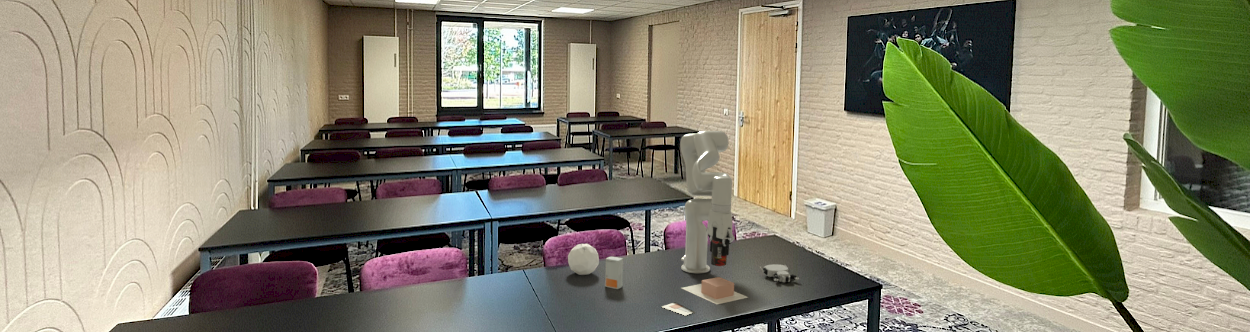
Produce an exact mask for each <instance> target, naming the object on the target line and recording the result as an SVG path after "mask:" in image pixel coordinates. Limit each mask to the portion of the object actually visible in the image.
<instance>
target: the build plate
mask: <svg viewBox="0 0 1250 332" xmlns="http://www.w3.org/2000/svg"><path fill="white" fill-rule="evenodd" d="M701 284H702V283H698V284H693V285H689V286H685V287H684V286H683V287H681V289H682V290H684V291H686V292H689V293H690V294H693V295H695V296H697V297H700V298H702V299H704V300H706V301H708V302H710V303H713V304H715V305H721V304H727V303H730V302H735V301H738V300H744V299H747V298H748V299H749V297H748V296H747V295H745V294H741V293H740V292H737V291H735V290H734V295H733V296H729V297H724V298H720V299H714V298H712V297H710V296H708V295H705V294H703V293H701Z"/></svg>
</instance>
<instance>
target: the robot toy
mask: <svg viewBox="0 0 1250 332" xmlns="http://www.w3.org/2000/svg"><path fill="white" fill-rule="evenodd" d="M759 268H760V270H761V271H762V273H763V274H765V276H767V277H768V278H773V281H774V282H779V283H789V282H790V281H791V280H792V281H799V280H800V277H798V276H797V275H796V274H792V273H791V274H790V268H789V267H788V266H787V265H786V264H784V265H783V264H768V265H767V264H766V265H765V266H763V268H762V266H759Z"/></svg>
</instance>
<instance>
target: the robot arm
mask: <svg viewBox="0 0 1250 332" xmlns="http://www.w3.org/2000/svg"><path fill="white" fill-rule="evenodd" d="M729 142H730V141H729V136H728V135H727V133H726V132H725V131H722V130H702V131H699V132H697V133H693V132H692V133H687V134H684V135H683V136H681V139H680V143H679V145H680V153H681V156H682V158H683V161H684V164H685V177H686V189H687V193H688V194H689V195H690V196H693V197H694V196H695V197H711V198H692V199H689V200H687V201H686V202H685V204H684V216H685V252H684V256H683V257H681V259H680V260H681V261H682V262H683V264H682V265H681V267H680V268H681V270H682V271H683V272H685V273H690V274H705V273H709V272H710V271H711V267H710V266H709V265H708V264H707V263H708V262H707V261H708V259H707V258H708V243H710V245H709V252H710V253H712V236H713V227H716V228H717V230H716V237H717V238H719V239H722V243H723V246H722V251H721V255H722V256H726V255H727V256H729V251H730V246H731V244H732V243H733V241H734V240H736V239H735V236H734V235H733V217H732V216H733V215H732V197H733V195H732V194H733V178H732V177H731V175H729V173H727V172H721V171H720V172H714V171H713V172H711V171H710V172H708V171H706V170H708V169H710V168H713V167H715V166H716V165H717V164H718V163H719V161H720V153H723V152H725V151H726V150H728V147H729ZM706 221H707V226H706V225H705V224H704V223H703V222H706ZM726 236H727V237H726ZM725 239H726V240H727V241H726V242H725ZM708 240H709V241H708Z"/></svg>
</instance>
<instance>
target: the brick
mask: <svg viewBox="0 0 1250 332" xmlns="http://www.w3.org/2000/svg"><path fill="white" fill-rule="evenodd" d="M700 284H701V293H703V294H705V295H708V296H710V297H712V298H714V299H720V298H724V297H729V296H733V295H734V291H735V282H732V281H730V280H727V279H725V278H722V277H720V276H718V277H717V276H716V277H712V278H708V279H702V280H701V283H700Z"/></svg>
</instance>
